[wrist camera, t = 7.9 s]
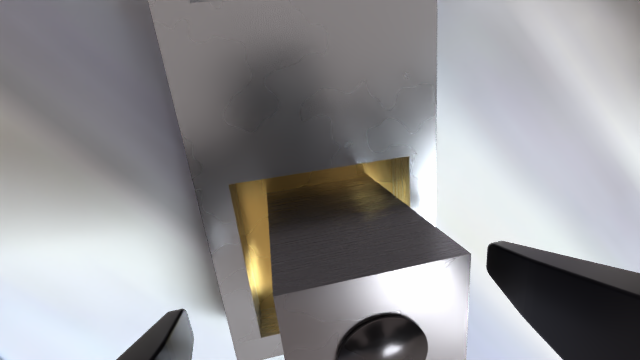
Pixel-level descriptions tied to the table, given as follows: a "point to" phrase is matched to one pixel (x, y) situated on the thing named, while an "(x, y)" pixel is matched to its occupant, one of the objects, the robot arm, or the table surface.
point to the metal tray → (295, 120)
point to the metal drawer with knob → (364, 276)
